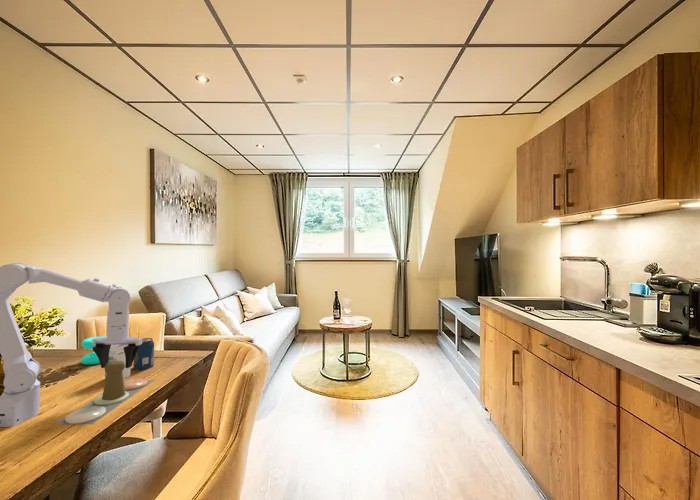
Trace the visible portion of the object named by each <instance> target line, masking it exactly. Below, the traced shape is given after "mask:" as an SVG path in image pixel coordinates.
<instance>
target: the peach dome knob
mask: <svg viewBox="0 0 700 500" xmlns="http://www.w3.org/2000/svg"><path fill="white" fill-rule="evenodd" d="M126 380H127V381H125V380H124V387H125V391H128V390H134V389H138V388H141V387H143V386H145V385H147V383H148V380H149V379H146V378H132V379H126ZM147 386H148V385H147Z"/></svg>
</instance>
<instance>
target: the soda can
mask: <svg viewBox="0 0 700 500" xmlns="http://www.w3.org/2000/svg"><path fill="white" fill-rule="evenodd" d="M154 361H155V342H154V339H153V338H151V337H150V338H149V337H146V338H145V337H143V338H142V344H141V346H140V347H139V349H138V351H137V353H136V355H135V357H134V360H133V363H132V366H133V367H132V368H133V370H135V371H144V370H149V369H152V368H153V367H154V364H155V362H154Z"/></svg>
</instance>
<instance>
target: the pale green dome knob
mask: <svg viewBox="0 0 700 500" xmlns="http://www.w3.org/2000/svg"><path fill="white" fill-rule="evenodd" d="M102 396H103V393H102V394H99V395H98V396H96V397H95V398H94V399H93V400H94V404H95V405H99V406H104V405H111V404H115V403H119V402H121V401H124V400H125V399H127V398H128V397H129V393H128V392H126V391H125V395H124V396H123V397H121V398H118V399H115V400H103V399H102ZM127 400H128V399H127ZM124 402H125V401H124Z"/></svg>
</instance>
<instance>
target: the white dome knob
mask: <svg viewBox="0 0 700 500" xmlns="http://www.w3.org/2000/svg"><path fill="white" fill-rule="evenodd" d="M105 413H106V408H105V407H103V406H91V407H86V408H82V409H80V408H79V410H78V409H76V410H75V411H72V412H70V413H69V414H67V415H66V416H65V417H66V418H65V417H64V418H65V422H66V423H68V424H67V425H81V424H80V423H85V422H89V421H92V420H95V419H97V418H99V417H101V416H103V415H104V414H105ZM103 417H104V416H103Z"/></svg>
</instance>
